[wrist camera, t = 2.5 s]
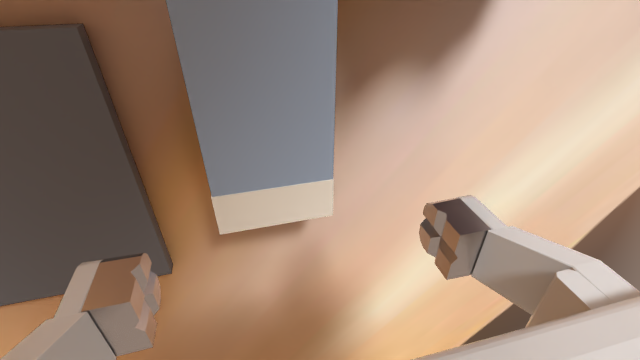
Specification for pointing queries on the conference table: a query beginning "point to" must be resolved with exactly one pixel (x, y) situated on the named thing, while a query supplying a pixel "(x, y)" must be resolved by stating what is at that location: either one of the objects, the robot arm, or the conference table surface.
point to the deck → (262, 105)
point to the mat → (64, 167)
